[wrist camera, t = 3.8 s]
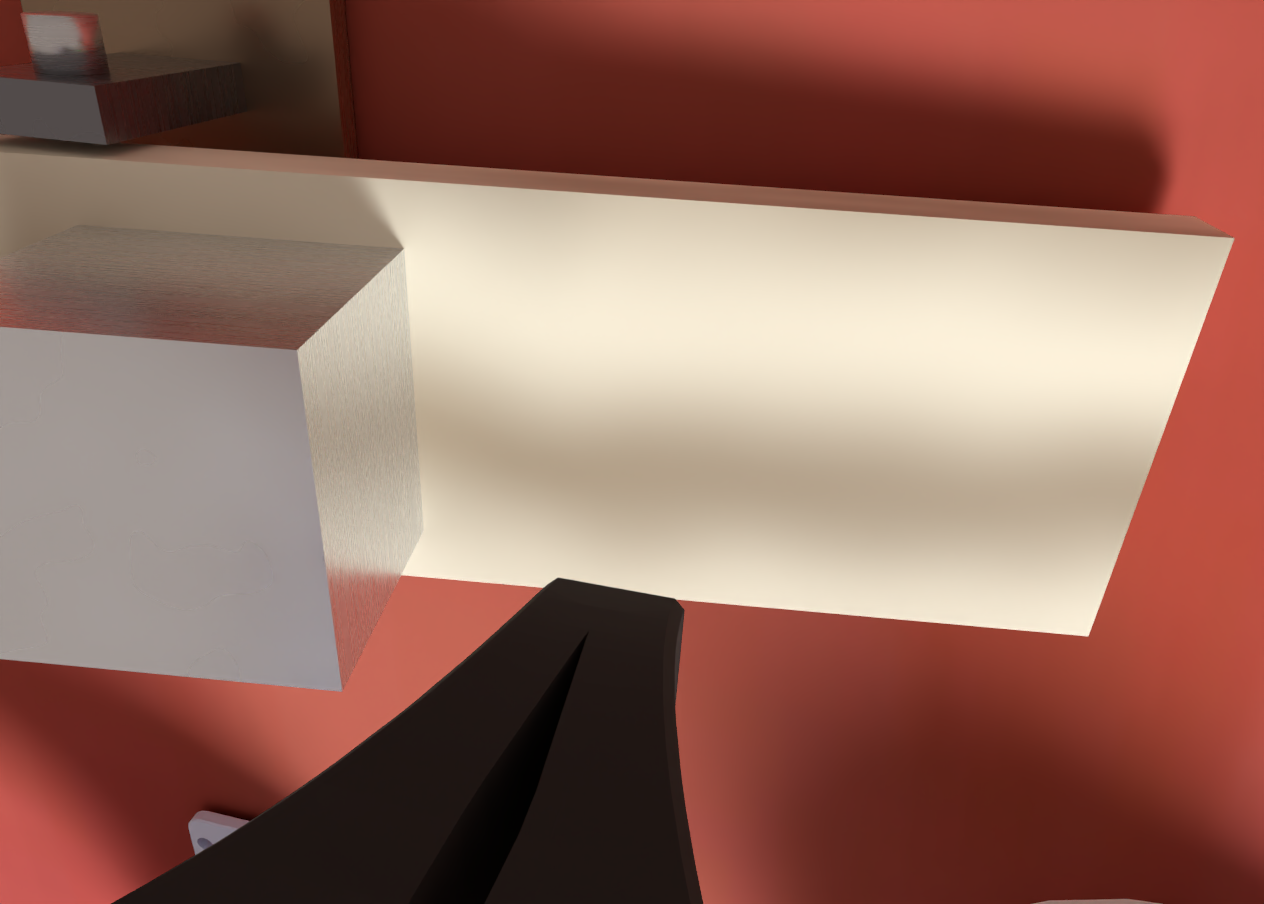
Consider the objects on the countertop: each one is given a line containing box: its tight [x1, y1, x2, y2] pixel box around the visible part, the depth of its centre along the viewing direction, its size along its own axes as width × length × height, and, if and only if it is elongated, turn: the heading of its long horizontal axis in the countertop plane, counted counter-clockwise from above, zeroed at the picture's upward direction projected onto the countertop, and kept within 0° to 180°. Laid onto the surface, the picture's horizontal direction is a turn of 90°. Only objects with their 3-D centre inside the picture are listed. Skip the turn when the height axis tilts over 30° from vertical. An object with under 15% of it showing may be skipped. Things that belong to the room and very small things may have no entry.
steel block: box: [0, 225, 424, 692], centre depth 13 cm, size 5×5×4 cm
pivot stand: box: [0, 0, 358, 159], centre depth 17 cm, size 12×6×4 cm, turn 177°
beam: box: [0, 134, 1234, 636], centre depth 15 cm, size 7×32×3 cm, turn 87°
